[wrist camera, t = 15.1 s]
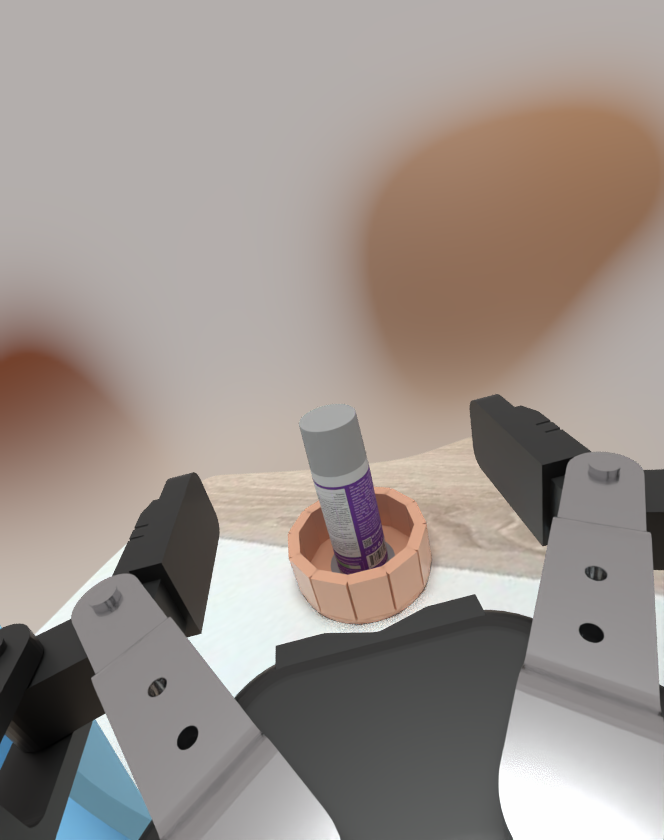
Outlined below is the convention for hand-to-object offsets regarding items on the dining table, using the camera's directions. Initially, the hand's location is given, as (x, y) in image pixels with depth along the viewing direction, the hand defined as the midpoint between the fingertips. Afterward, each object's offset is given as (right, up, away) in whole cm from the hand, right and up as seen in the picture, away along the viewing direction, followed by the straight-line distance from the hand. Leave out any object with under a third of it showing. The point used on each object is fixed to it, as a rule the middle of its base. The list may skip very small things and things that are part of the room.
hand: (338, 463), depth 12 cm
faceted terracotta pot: (+3, -12, +27) cm, 30 cm away
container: (+3, -12, +27) cm, 29 cm away
